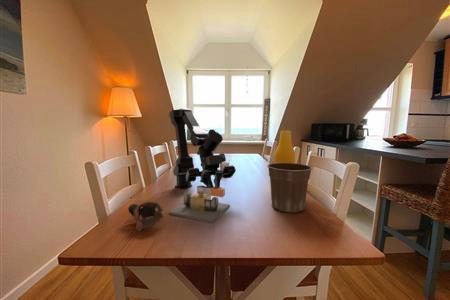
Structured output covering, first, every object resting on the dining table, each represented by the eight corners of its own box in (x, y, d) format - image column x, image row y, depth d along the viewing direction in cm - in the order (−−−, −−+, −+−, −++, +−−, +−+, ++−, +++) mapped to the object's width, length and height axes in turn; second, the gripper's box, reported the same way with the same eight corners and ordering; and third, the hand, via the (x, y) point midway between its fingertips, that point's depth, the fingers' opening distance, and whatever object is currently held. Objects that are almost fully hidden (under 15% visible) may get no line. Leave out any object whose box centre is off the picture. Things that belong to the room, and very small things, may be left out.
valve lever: (195, 194, 75) (195, 186, 75) (199, 191, 78) (199, 184, 78) (222, 197, 72) (222, 189, 72) (225, 195, 75) (225, 187, 74)
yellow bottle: (271, 194, 95) (273, 130, 91) (274, 189, 103) (276, 130, 100) (292, 197, 91) (295, 131, 88) (294, 191, 100) (297, 130, 96)
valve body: (183, 207, 77) (182, 192, 76) (190, 203, 82) (190, 189, 81) (212, 213, 72) (212, 197, 72) (218, 208, 77) (218, 193, 76)
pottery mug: (168, 218, 71) (168, 203, 66) (153, 243, 63) (152, 228, 58) (137, 207, 72) (134, 191, 68) (118, 230, 65) (114, 214, 60)
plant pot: (263, 199, 89) (264, 161, 87) (301, 199, 89) (303, 162, 87) (270, 215, 73) (271, 170, 71) (317, 216, 73) (319, 170, 71)
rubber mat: (169, 214, 73) (169, 211, 73) (191, 200, 87) (191, 198, 87) (212, 222, 67) (212, 220, 67) (229, 206, 81) (229, 204, 81)
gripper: (187, 146, 75) (195, 186, 66) (234, 145, 82) (247, 180, 74) (183, 163, 83) (189, 200, 75) (226, 160, 90) (236, 194, 82)
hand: (216, 193), depth 76 cm, fingers closed
